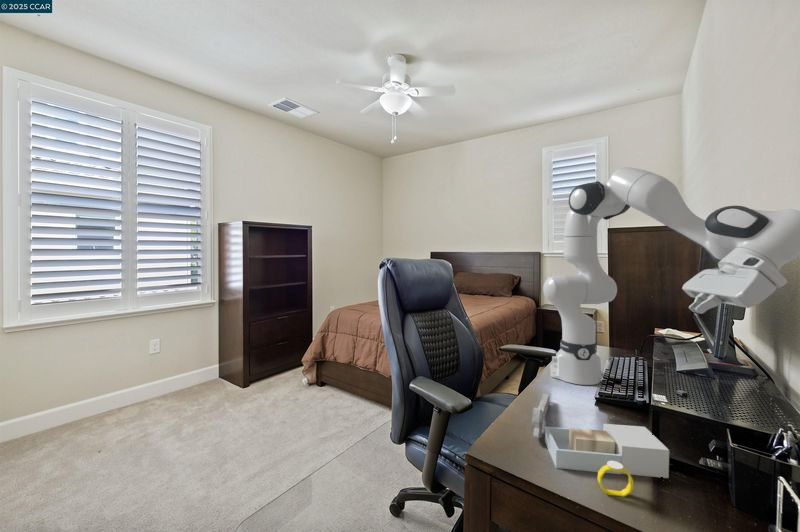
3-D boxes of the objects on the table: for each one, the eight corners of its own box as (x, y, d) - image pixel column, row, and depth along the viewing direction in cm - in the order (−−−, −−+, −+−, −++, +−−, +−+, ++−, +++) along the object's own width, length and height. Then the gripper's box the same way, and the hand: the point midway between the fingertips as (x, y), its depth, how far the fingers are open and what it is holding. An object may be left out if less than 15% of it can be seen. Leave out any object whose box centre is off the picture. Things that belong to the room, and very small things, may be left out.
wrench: (549, 411, 111) (538, 447, 85) (543, 410, 112) (530, 445, 85) (550, 385, 112) (539, 413, 85) (543, 384, 112) (531, 411, 86)
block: (605, 451, 82) (569, 448, 84) (605, 430, 82) (569, 427, 84) (614, 464, 77) (575, 460, 79) (615, 442, 77) (576, 438, 79)
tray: (545, 442, 88) (545, 426, 87) (601, 447, 85) (601, 431, 85) (556, 467, 77) (556, 450, 77) (620, 474, 75) (621, 456, 75)
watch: (601, 498, 68) (599, 468, 68) (596, 488, 71) (594, 459, 71) (636, 500, 67) (634, 469, 67) (629, 490, 70) (628, 461, 70)
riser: (603, 448, 85) (603, 423, 85) (644, 451, 83) (644, 426, 83) (621, 473, 75) (621, 446, 75) (668, 478, 74) (669, 450, 73)
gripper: (702, 259, 92) (659, 296, 94) (770, 261, 71) (714, 307, 73) (721, 276, 91) (678, 313, 93) (795, 283, 71) (737, 329, 73)
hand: (694, 310), depth 83 cm, fingers closed
